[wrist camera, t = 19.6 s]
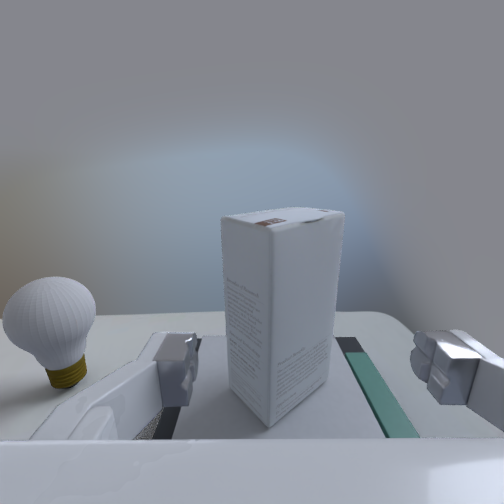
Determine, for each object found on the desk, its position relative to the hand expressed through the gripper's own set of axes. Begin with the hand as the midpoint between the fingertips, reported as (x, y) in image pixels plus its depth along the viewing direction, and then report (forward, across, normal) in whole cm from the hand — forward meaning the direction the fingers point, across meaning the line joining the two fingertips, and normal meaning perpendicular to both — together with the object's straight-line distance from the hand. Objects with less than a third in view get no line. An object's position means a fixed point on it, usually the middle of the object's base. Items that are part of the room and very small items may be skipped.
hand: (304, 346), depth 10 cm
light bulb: (+10, +18, +12) cm, 24 cm away
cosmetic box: (+6, 0, +8) cm, 10 cm away
